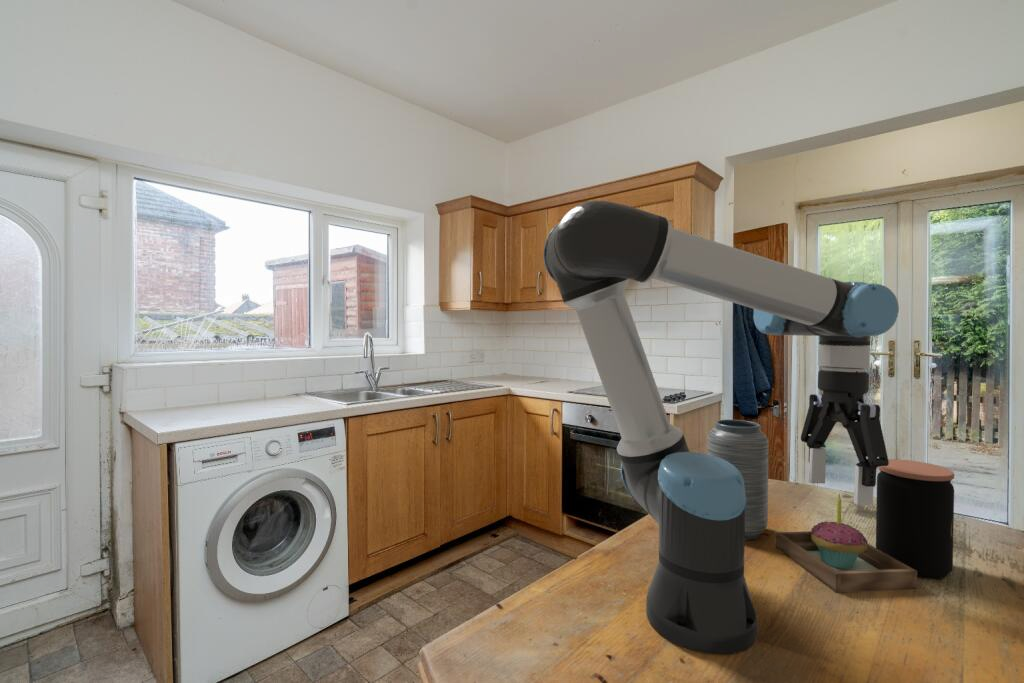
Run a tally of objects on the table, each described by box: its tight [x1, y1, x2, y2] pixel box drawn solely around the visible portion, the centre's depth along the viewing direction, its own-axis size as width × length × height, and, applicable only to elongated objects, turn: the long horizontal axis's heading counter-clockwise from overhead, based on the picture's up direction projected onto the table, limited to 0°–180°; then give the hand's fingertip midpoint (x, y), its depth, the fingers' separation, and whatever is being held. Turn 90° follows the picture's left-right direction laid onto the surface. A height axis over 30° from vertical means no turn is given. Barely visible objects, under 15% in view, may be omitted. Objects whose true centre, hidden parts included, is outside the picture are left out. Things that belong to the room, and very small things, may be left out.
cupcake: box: [810, 493, 869, 569], centre depth 87 cm, size 9×8×12 cm
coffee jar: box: [875, 458, 955, 580], centre depth 86 cm, size 11×11×18 cm
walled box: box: [775, 530, 918, 593], centre depth 86 cm, size 14×16×3 cm
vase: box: [707, 419, 770, 541], centre depth 101 cm, size 12×12×23 cm
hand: (838, 492), depth 86 cm, fingers open, 10 cm apart
